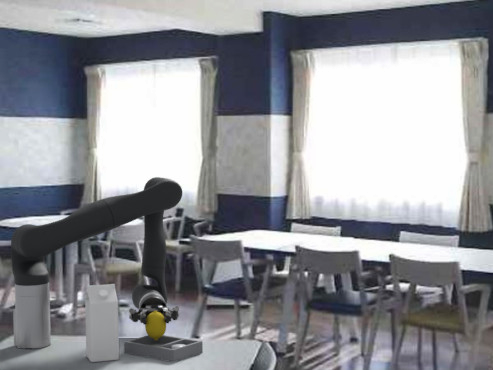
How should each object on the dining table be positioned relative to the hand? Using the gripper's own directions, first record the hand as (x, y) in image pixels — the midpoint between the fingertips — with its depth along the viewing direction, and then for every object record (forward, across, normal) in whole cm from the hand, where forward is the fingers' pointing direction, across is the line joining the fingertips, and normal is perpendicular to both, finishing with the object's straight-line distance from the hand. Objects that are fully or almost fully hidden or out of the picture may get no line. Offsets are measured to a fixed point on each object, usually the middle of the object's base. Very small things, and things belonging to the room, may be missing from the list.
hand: (156, 319), depth 217 cm
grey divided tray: (0, +2, +9) cm, 9 cm away
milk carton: (+2, -14, +9) cm, 17 cm away
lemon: (-3, 0, +6) cm, 7 cm away
